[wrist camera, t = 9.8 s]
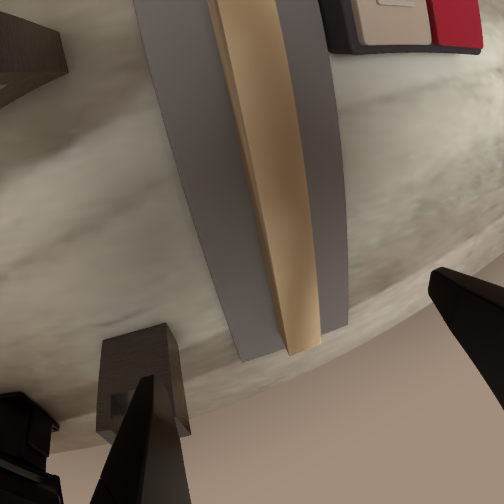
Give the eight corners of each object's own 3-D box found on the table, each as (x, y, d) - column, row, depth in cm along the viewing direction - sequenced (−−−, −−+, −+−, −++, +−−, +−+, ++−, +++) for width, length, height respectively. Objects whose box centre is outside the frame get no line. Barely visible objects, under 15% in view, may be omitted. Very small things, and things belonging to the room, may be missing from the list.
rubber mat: (240, 356, 25) (242, 362, 24) (124, -47, 9) (122, -51, 9) (344, 319, 26) (347, 324, 25) (294, -69, 10) (298, -73, 10)
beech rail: (278, 332, 23) (289, 355, 21) (198, -38, 10) (204, -56, 8) (308, 321, 24) (321, 343, 22) (246, -44, 10) (259, -61, 8)
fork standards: (117, 361, 22) (116, 448, 16) (-18, 75, 10) (-106, 91, 4) (178, 345, 22) (191, 434, 16) (59, 32, 11) (-12, 7, 4)
